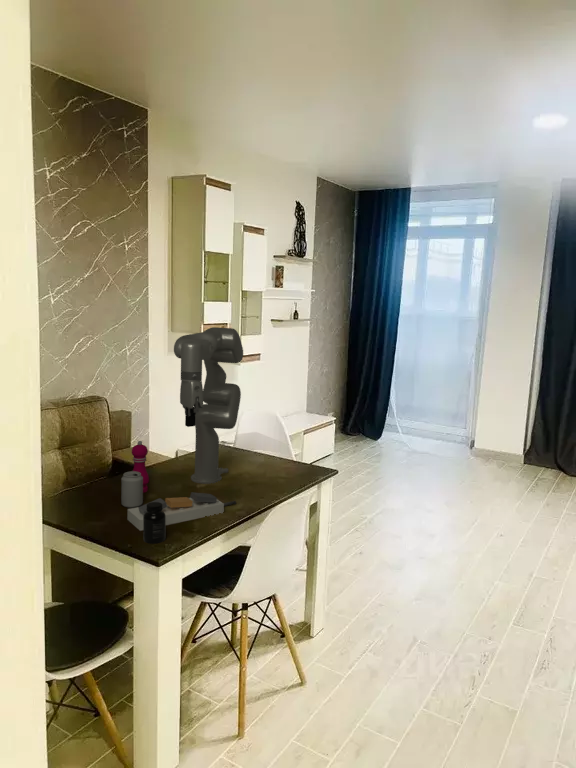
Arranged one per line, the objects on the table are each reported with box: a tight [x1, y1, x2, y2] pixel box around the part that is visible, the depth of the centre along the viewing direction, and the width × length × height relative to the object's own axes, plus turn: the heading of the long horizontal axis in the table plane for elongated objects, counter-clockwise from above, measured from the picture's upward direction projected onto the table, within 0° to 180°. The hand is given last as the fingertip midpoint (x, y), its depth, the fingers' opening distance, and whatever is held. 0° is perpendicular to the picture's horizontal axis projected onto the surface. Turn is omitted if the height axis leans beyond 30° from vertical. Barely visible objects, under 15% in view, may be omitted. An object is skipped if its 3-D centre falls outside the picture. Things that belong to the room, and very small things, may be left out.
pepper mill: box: [131, 440, 150, 494], centre depth 230 cm, size 7×7×20 cm
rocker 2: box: [164, 496, 193, 508], centre depth 206 cm, size 8×5×2 cm, turn 126°
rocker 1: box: [138, 497, 167, 515], centre depth 200 cm, size 8×5×2 cm, turn 126°
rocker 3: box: [189, 492, 218, 503], centre depth 211 cm, size 8×5×2 cm, turn 126°
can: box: [120, 470, 144, 509], centre depth 216 cm, size 8×8×12 cm
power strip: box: [126, 497, 237, 532], centre depth 210 cm, size 39×11×5 cm, turn 126°
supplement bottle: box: [142, 501, 167, 545], centre depth 187 cm, size 7×7×12 cm
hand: (190, 425), depth 218 cm, fingers closed
